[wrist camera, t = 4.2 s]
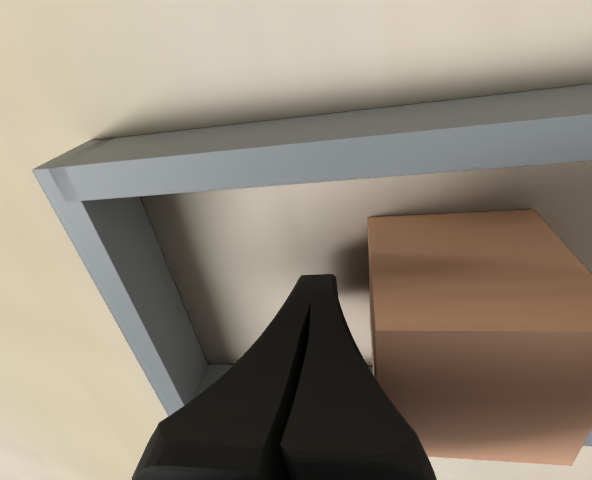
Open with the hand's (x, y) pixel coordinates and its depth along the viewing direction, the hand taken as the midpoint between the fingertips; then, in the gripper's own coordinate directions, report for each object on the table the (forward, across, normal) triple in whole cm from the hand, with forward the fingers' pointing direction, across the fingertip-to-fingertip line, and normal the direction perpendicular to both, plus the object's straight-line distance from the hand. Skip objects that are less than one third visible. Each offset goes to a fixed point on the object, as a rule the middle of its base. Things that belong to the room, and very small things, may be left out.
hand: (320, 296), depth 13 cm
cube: (+1, -4, 0) cm, 4 cm away
